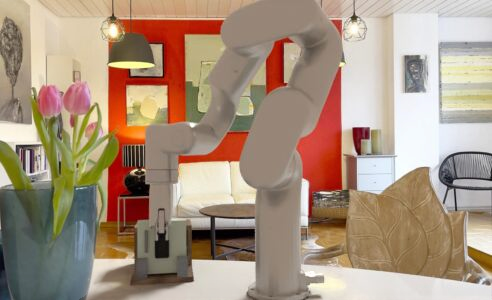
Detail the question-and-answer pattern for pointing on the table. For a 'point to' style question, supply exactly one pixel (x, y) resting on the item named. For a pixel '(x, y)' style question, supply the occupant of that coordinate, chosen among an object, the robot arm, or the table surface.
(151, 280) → the cabinet
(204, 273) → the table surface
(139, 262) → the hinge clips
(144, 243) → the door
